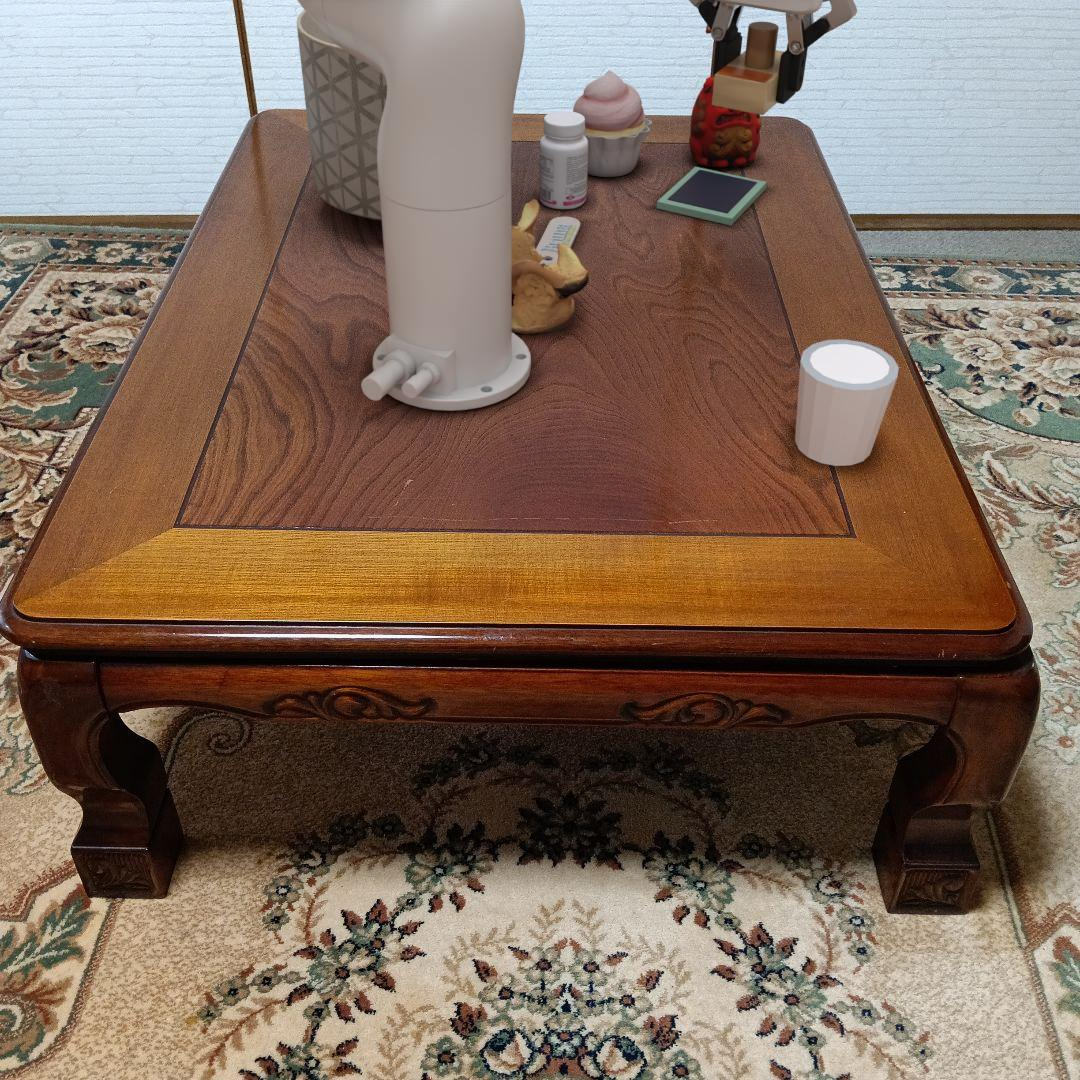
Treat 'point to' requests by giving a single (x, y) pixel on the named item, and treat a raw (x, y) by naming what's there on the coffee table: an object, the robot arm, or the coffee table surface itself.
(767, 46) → the stamp
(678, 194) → the ink pad
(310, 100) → the planter
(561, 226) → the keychain
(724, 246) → the coffee table surface
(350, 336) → the coffee table surface
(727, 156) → the red clay folk toy
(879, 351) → the white cylinder
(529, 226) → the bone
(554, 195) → the pill bottle
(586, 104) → the cupcake
